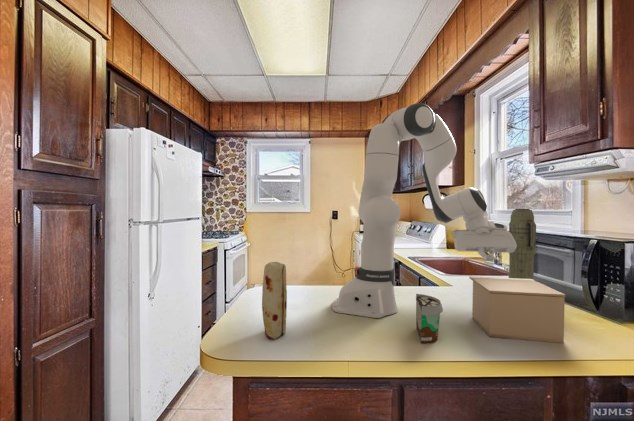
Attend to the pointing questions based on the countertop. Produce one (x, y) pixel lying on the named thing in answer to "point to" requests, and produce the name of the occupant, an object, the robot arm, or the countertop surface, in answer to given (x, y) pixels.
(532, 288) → the flap
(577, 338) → the countertop surface
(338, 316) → the countertop surface
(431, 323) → the food container
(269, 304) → the food model
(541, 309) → the carton
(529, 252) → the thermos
